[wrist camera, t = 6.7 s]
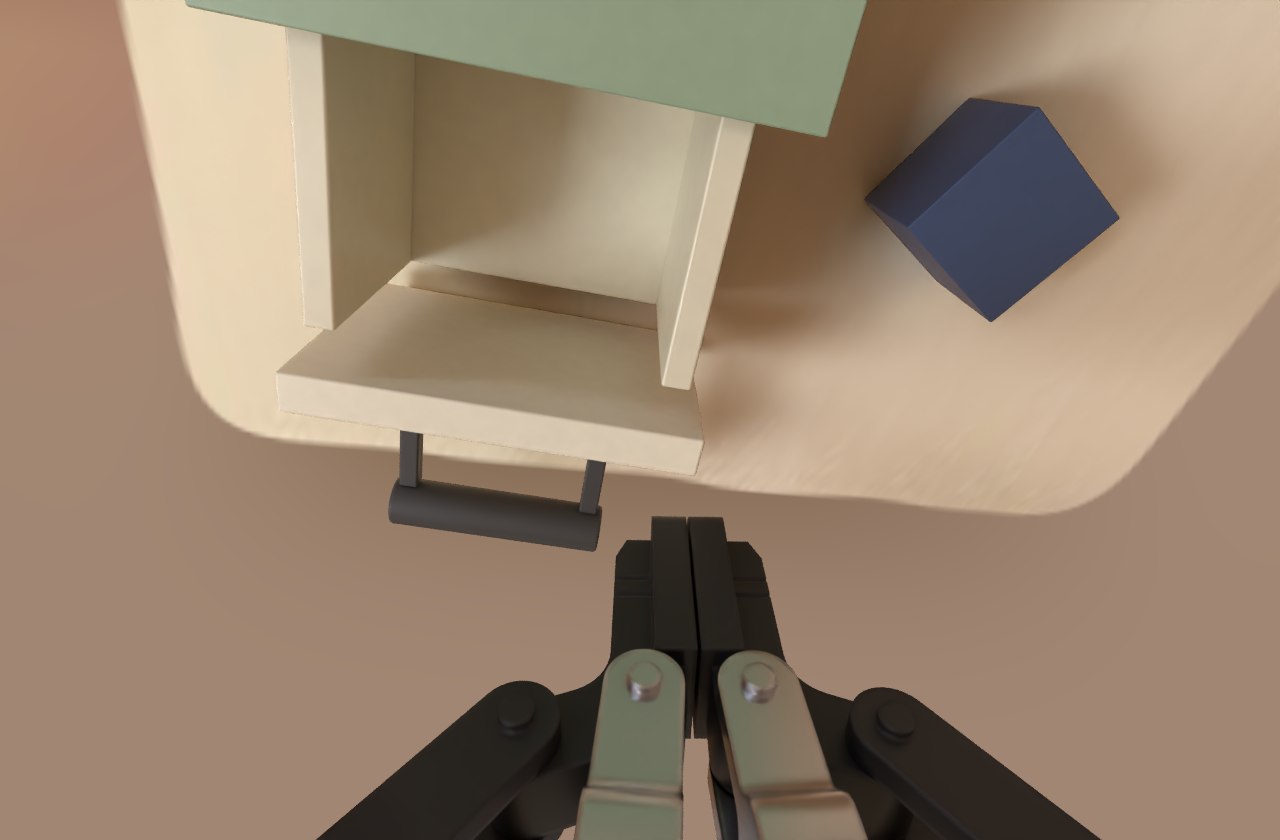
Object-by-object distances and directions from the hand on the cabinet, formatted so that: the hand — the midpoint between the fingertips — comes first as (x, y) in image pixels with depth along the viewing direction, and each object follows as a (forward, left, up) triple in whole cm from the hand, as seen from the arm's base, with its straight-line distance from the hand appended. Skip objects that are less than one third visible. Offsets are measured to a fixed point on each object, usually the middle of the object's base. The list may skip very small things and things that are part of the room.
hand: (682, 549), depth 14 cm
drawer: (+4, -4, -12) cm, 14 cm away
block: (-11, -3, -13) cm, 17 cm away
